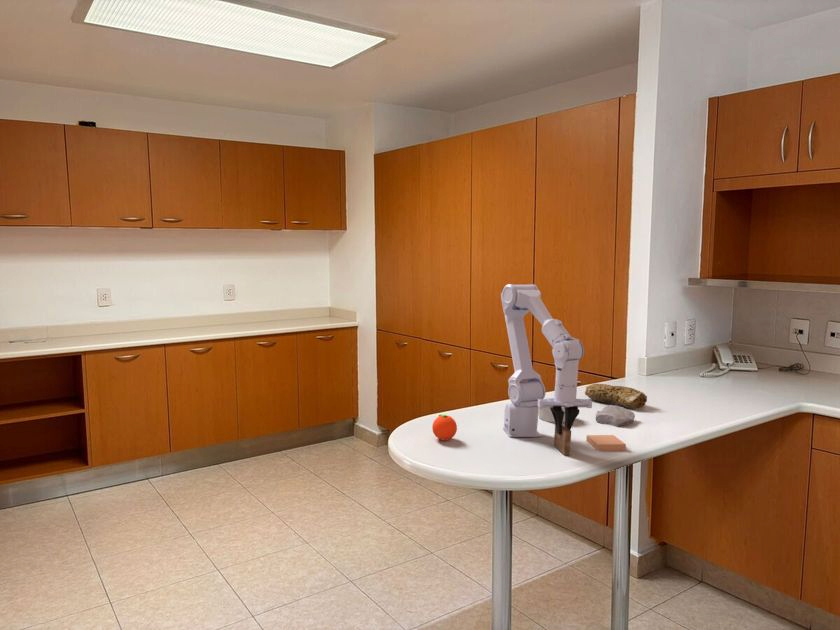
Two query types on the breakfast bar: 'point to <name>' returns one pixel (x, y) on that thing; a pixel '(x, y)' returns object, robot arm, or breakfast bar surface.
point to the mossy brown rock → (616, 395)
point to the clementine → (444, 427)
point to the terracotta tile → (606, 443)
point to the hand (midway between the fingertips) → (562, 433)
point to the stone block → (615, 416)
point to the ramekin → (548, 414)
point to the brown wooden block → (563, 440)
